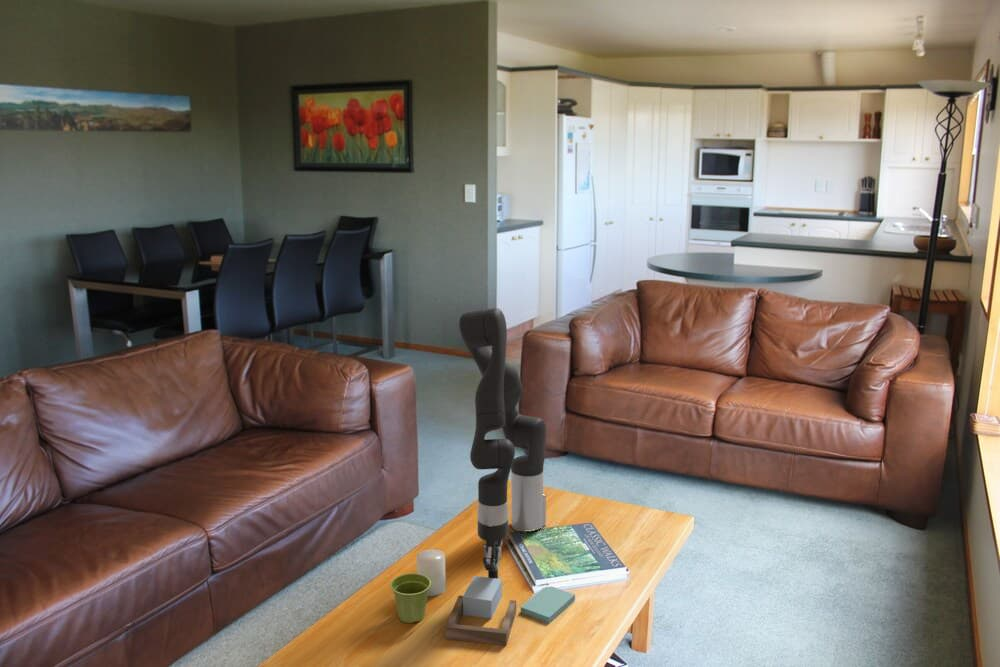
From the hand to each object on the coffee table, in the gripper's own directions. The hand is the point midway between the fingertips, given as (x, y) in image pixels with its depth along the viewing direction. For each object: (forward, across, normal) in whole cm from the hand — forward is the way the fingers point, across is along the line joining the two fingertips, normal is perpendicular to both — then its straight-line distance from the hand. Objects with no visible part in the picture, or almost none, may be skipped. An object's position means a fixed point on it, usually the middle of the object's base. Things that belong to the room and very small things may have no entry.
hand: (493, 581), depth 206 cm
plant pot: (+3, +14, -17) cm, 22 cm away
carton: (+3, +7, -1) cm, 8 cm away
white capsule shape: (+3, +2, -15) cm, 16 cm away
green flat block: (+3, +4, +14) cm, 15 cm away
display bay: (+3, +14, 0) cm, 15 cm away
